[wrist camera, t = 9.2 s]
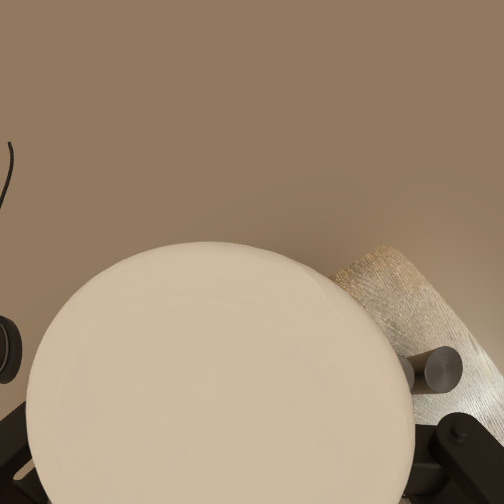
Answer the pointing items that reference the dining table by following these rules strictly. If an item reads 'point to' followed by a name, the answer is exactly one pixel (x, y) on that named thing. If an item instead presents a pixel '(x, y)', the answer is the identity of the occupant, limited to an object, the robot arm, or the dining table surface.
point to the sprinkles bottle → (217, 387)
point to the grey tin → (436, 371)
